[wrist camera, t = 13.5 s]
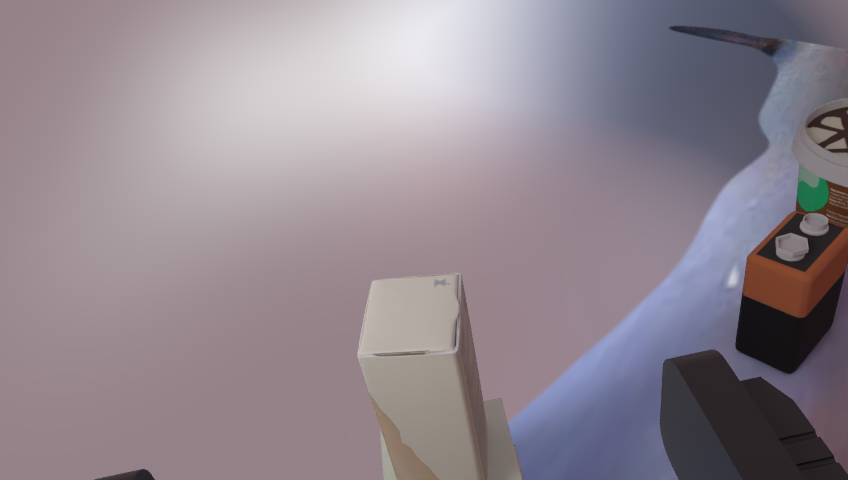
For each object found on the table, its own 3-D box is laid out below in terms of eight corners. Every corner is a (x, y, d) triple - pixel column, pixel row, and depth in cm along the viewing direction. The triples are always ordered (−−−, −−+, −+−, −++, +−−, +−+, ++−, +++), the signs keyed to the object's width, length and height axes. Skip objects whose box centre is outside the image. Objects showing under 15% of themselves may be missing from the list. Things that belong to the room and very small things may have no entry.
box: (412, 425, 39) (371, 273, 33) (489, 422, 39) (463, 266, 32) (402, 510, 35) (353, 355, 29) (488, 509, 34) (458, 349, 28)
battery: (731, 351, 53) (745, 244, 47) (776, 302, 56) (794, 196, 50) (790, 378, 50) (813, 269, 44) (834, 325, 53) (861, 216, 47)
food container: (802, 180, 68) (819, 84, 62) (875, 194, 64) (901, 94, 59) (760, 251, 61) (775, 150, 55) (840, 272, 57) (865, 166, 51)
